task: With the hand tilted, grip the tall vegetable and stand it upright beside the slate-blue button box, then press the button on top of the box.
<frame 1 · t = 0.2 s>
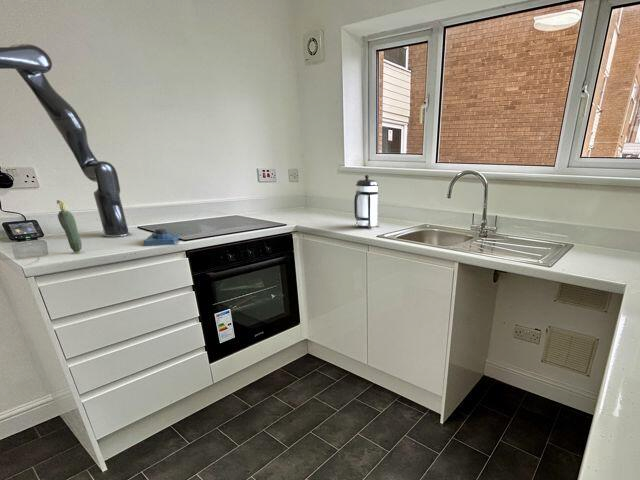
button: (160, 231, 156), point 5 cm above the countertop, slide at 0.1 cm
coffee press: (366, 227, 211), on the countertop
button box: (163, 242, 158), on the countertop
vegetable: (77, 253, 135), on the countertop
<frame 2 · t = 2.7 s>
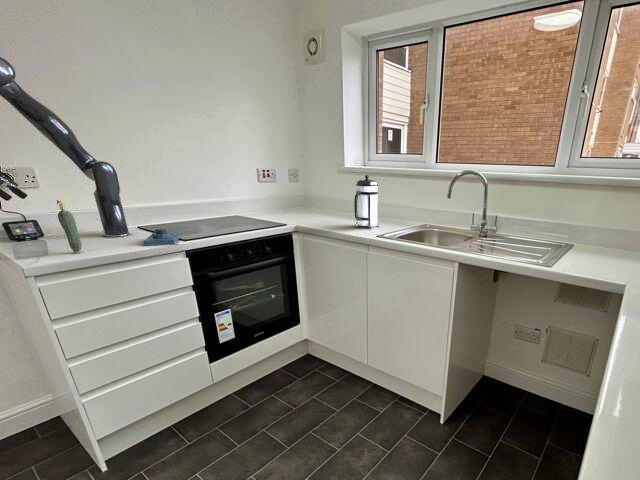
hand: (18, 198, 124), 21 cm above the countertop, tool tilted 45°, fingers open, 8 cm apart
nothing on the countertop moved.
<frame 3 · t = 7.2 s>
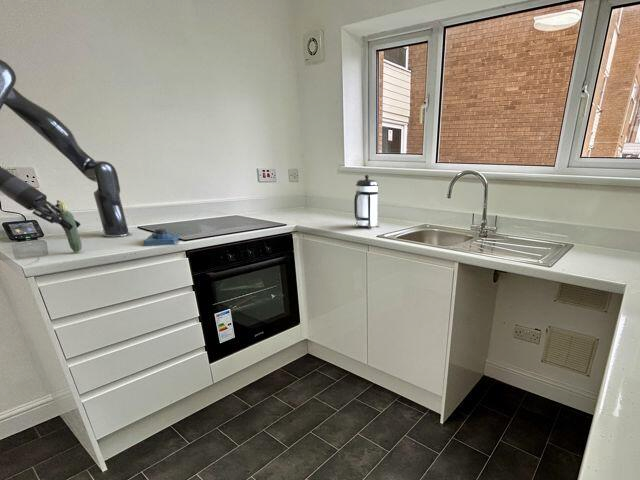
hand: (75, 227, 132), 10 cm above the countertop, tool tilted 45°, fingers closed on vegetable, 4 cm apart
vegetable: (77, 253, 135), on the countertop, touching gripper
everything else where it was.
when the fingers open (10 cm above the countertop, at t = 15.2 s): vegetable stays where it is, on the countertop.
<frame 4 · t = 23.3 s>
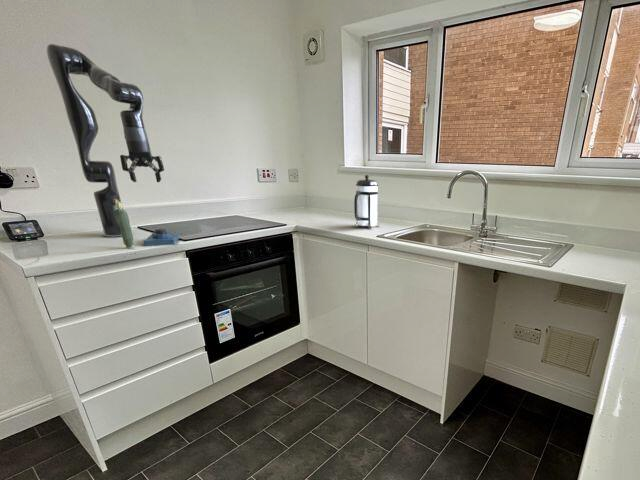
hand: (146, 182, 148), 26 cm above the countertop, tool pointing down, fingers open, 8 cm apart
vegetable: (129, 249, 145), on the countertop
everything else where it was.
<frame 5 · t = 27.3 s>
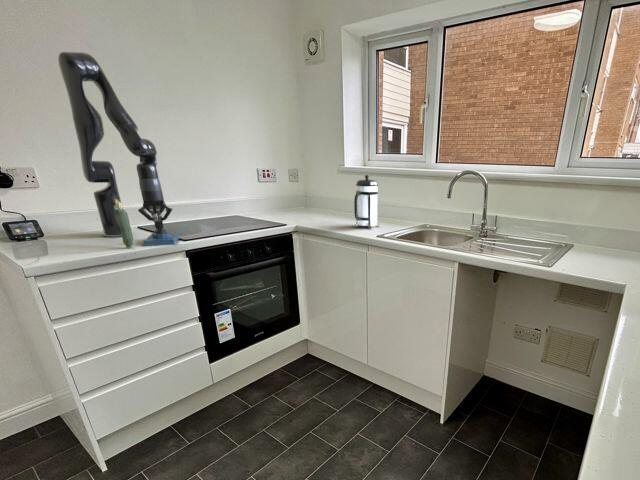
hand: (160, 230, 156), 5 cm above the countertop, tool pointing down, fingers closed
button: (160, 232, 156), point 4 cm above the countertop, slide at -0.1 cm, touching gripper
everything else where it was.
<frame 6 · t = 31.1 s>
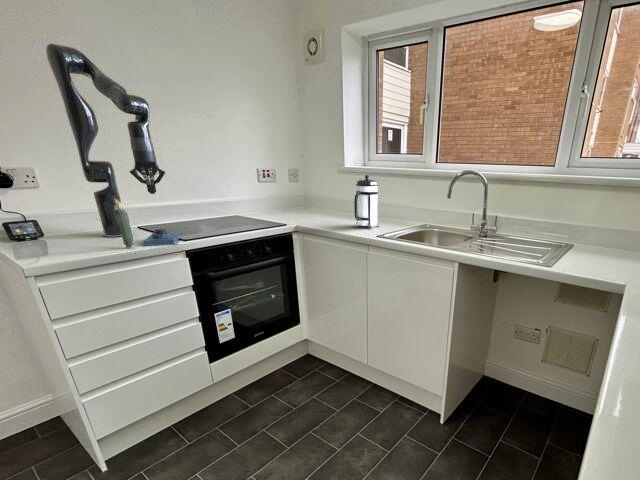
hand: (152, 193, 150), 21 cm above the countertop, tool pointing down, fingers closed
button: (160, 231, 156), point 5 cm above the countertop, slide at 0.1 cm
everything else where it was.
at the end: button pushed in 1.1 cm at the most during the clip, back to where it started at the end; vegetable inside the target area on the countertop beside the button box (0.1 cm from its centre), on the countertop; vegetable tilted 0° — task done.
